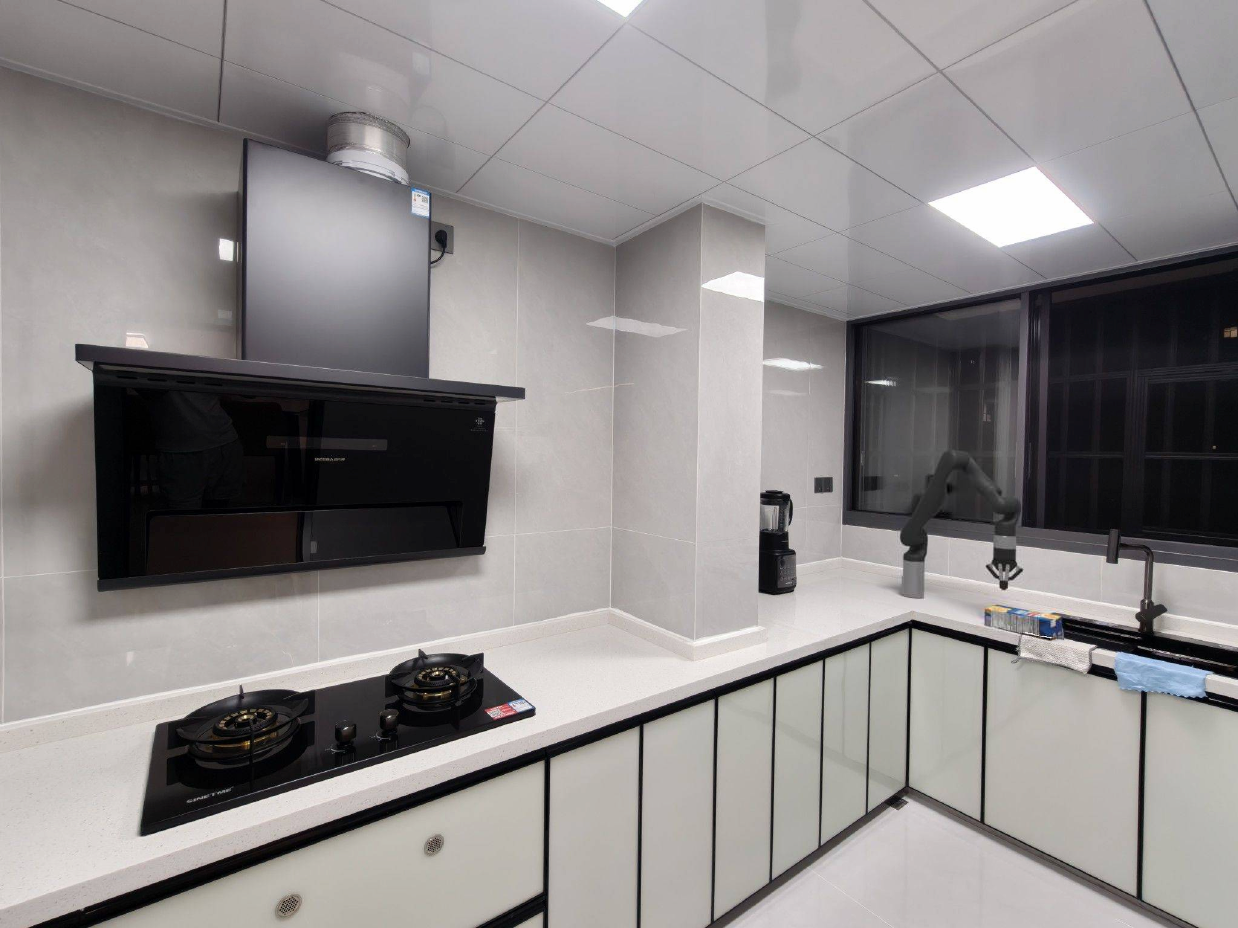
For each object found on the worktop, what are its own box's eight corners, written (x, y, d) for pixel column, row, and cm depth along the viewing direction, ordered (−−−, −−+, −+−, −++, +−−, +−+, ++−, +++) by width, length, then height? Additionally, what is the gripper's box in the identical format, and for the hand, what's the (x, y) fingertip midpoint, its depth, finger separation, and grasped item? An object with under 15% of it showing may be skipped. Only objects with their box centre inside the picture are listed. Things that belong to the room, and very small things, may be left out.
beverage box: (984, 608, 223) (1050, 620, 205) (996, 604, 229) (1062, 616, 211) (984, 625, 223) (1050, 639, 205) (996, 621, 229) (1062, 634, 211)
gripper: (984, 546, 225) (983, 588, 225) (1024, 549, 217) (1023, 594, 217) (985, 543, 231) (984, 585, 231) (1025, 547, 223) (1024, 590, 223)
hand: (1003, 589), depth 224 cm, fingers closed
